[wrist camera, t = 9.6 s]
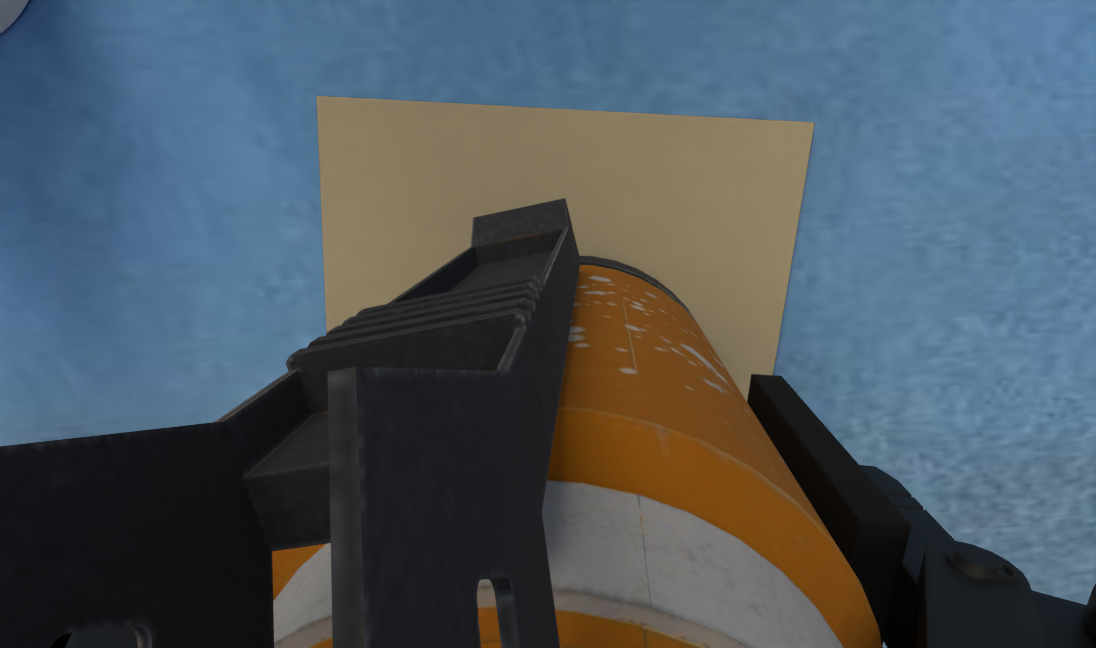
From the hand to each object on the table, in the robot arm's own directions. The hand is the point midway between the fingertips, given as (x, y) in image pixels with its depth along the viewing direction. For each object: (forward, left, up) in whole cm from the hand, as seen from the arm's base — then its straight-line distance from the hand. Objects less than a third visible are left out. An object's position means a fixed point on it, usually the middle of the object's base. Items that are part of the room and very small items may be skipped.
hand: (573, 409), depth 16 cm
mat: (+2, -1, -6) cm, 6 cm away
